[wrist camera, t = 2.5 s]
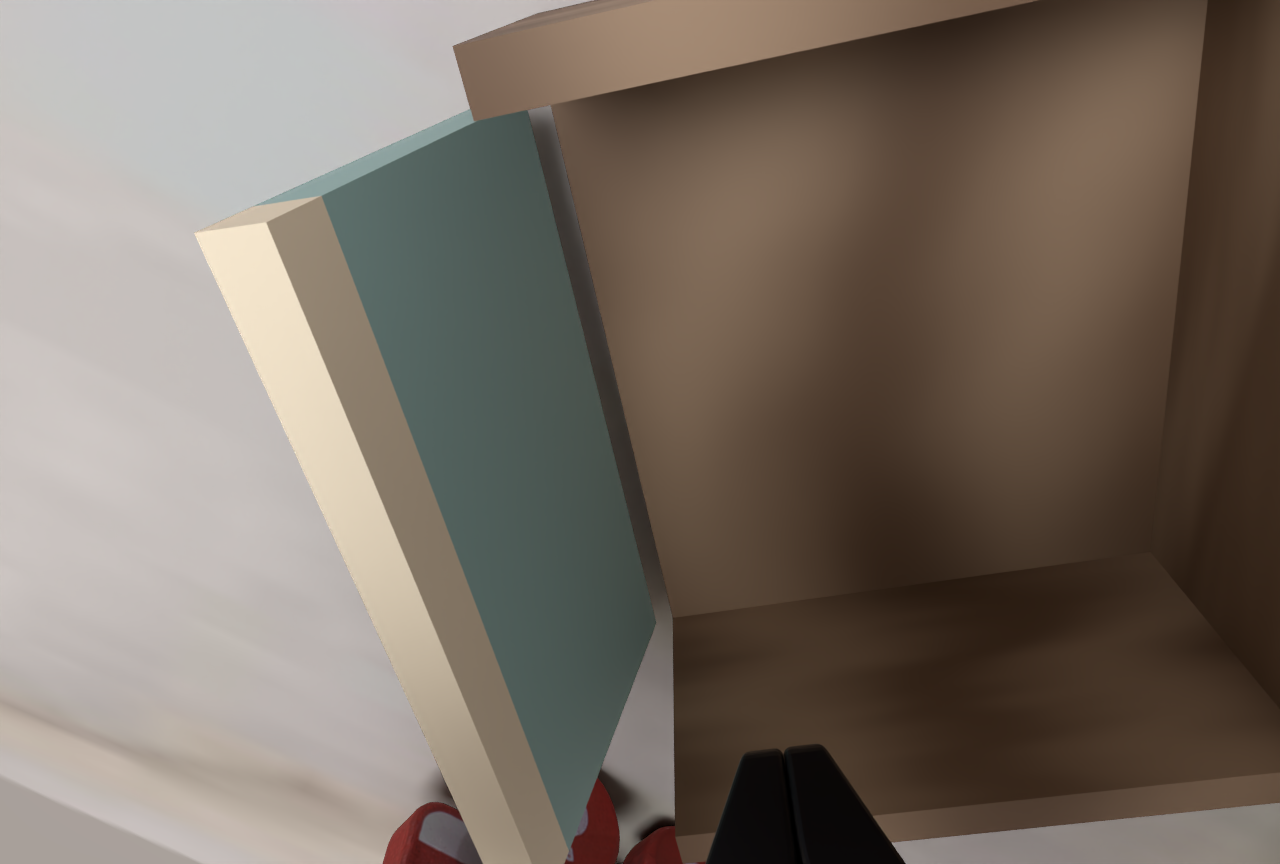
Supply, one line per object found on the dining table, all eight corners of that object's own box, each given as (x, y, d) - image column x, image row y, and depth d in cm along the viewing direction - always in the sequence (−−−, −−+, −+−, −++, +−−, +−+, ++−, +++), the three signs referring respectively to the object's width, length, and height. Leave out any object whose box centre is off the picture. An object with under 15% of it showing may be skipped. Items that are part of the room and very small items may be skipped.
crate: (1239, -147, 14) (1682, -232, 8) (1161, 548, 21) (1369, 793, 15) (537, 13, 15) (452, 46, 9) (677, 615, 22) (682, 864, 16)
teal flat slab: (524, 98, 15) (266, 223, 9) (655, 622, 20) (548, 904, 15) (473, 107, 15) (193, 232, 9) (617, 620, 21) (497, 894, 15)
